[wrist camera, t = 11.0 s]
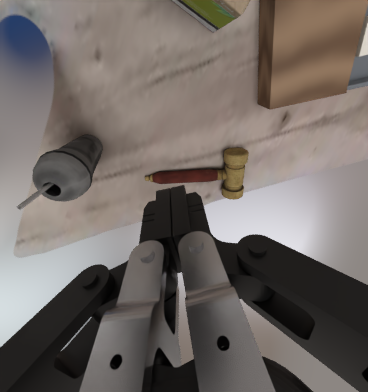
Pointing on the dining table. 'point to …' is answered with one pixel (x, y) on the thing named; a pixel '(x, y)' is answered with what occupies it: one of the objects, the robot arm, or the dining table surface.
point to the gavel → (212, 174)
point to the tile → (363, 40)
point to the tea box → (213, 11)
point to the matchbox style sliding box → (306, 49)
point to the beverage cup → (66, 170)
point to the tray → (359, 70)
